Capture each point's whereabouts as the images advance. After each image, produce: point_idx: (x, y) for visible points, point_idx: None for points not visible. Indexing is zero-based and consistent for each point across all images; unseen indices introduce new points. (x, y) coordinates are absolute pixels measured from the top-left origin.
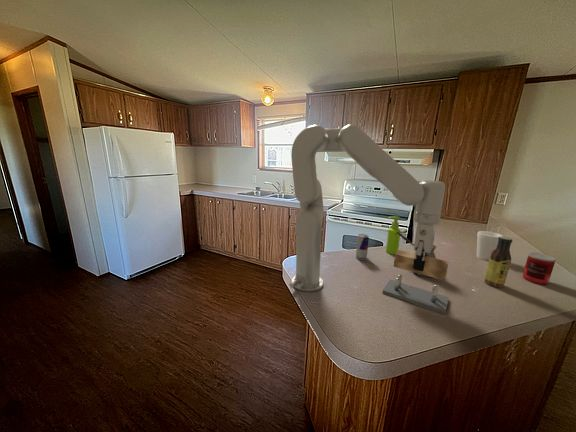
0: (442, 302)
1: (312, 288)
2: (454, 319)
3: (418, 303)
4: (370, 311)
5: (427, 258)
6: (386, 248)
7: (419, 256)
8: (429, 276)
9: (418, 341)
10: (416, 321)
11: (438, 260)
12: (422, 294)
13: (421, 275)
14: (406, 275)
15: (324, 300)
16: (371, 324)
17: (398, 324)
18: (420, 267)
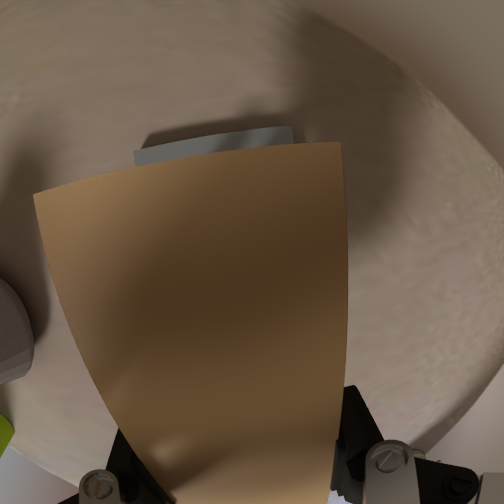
0: None
1: (417, 456)
2: (298, 90)
3: None
4: (439, 337)
5: (202, 449)
6: (8, 442)
7: (488, 479)
8: (8, 284)
9: (485, 182)
10: (416, 211)
11: (136, 342)
12: None
13: (26, 312)
14: (78, 360)
15: (438, 418)
16: (482, 303)
17: (457, 251)
18: (360, 394)
